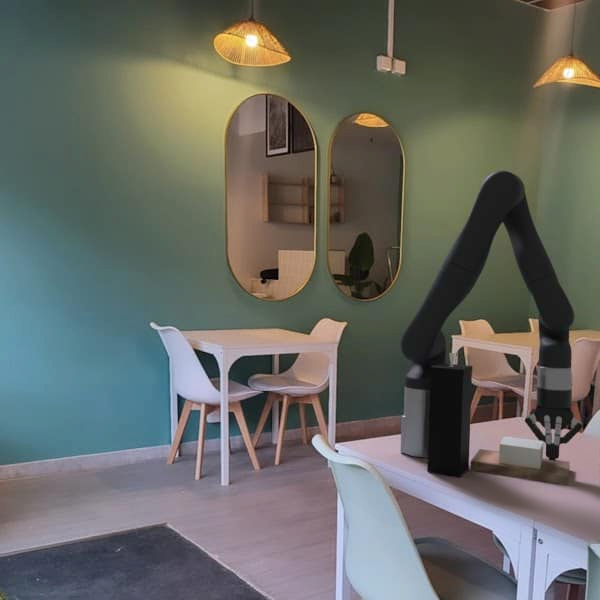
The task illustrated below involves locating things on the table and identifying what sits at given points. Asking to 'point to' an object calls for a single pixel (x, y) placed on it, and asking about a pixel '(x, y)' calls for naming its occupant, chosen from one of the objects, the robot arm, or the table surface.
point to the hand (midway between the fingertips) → (552, 459)
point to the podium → (521, 468)
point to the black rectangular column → (449, 418)
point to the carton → (521, 452)
